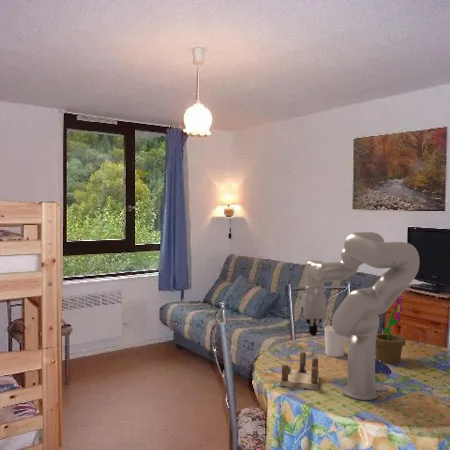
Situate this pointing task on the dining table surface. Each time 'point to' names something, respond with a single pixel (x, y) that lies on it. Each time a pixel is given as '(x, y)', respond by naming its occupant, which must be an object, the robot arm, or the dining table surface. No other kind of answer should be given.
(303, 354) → the hinged leg
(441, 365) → the dining table surface
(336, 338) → the white paper cup
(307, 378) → the stool
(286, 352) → the dining table surface
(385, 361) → the flowerpot
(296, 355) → the dining table surface
